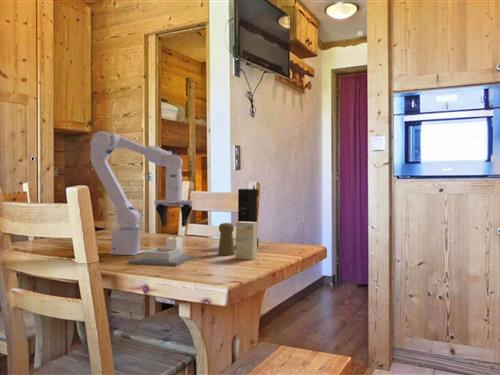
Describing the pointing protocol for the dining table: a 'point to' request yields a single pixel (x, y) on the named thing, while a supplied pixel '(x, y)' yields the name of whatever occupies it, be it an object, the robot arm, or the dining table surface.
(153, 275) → the dining table surface
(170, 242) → the brick
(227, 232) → the cork
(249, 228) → the skincare box
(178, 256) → the outlet plate
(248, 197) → the portable radio
